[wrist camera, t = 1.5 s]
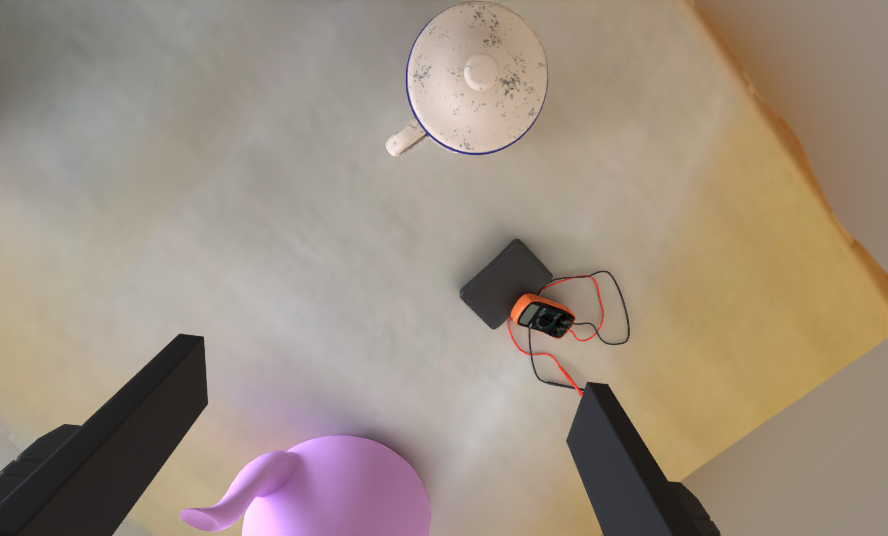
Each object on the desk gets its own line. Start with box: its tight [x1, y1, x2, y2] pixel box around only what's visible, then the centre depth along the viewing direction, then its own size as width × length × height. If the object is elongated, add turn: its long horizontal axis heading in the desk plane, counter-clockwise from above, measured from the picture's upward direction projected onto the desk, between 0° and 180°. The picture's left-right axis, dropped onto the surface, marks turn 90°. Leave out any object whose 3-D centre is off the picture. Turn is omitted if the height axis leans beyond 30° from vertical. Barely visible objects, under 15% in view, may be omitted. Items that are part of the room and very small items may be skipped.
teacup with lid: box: [386, 1, 548, 157], centre depth 29 cm, size 12×9×12 cm
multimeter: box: [460, 239, 630, 396], centre depth 38 cm, size 18×12×3 cm, turn 39°
